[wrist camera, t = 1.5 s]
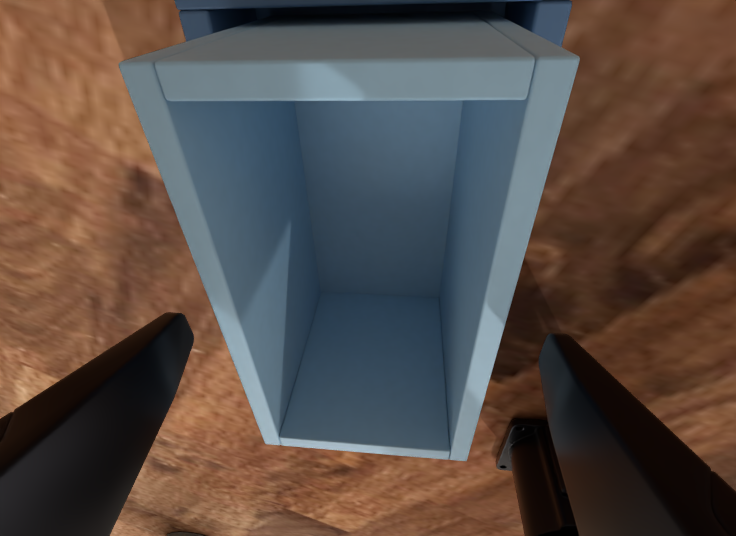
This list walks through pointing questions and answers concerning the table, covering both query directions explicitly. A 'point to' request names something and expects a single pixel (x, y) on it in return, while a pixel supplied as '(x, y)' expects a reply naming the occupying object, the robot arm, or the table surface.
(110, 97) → the table surface
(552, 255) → the table surface
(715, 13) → the table surface
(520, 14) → the lower bin
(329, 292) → the top bin
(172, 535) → the thermos
